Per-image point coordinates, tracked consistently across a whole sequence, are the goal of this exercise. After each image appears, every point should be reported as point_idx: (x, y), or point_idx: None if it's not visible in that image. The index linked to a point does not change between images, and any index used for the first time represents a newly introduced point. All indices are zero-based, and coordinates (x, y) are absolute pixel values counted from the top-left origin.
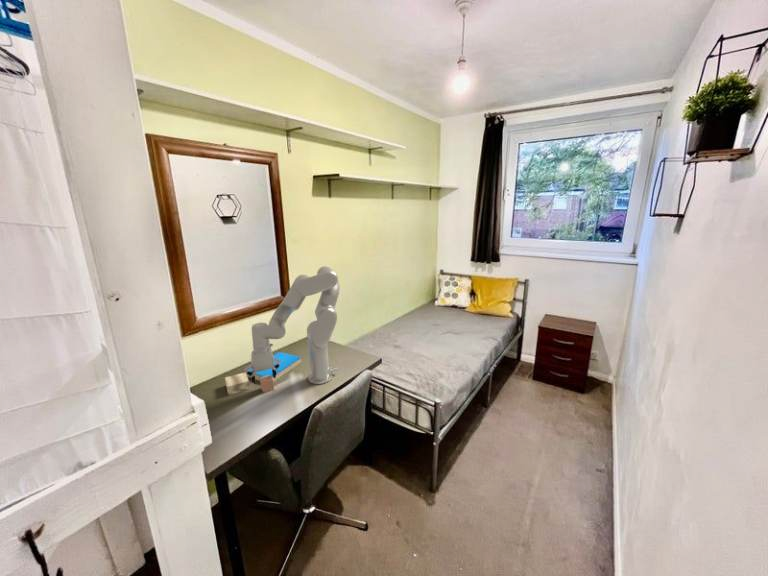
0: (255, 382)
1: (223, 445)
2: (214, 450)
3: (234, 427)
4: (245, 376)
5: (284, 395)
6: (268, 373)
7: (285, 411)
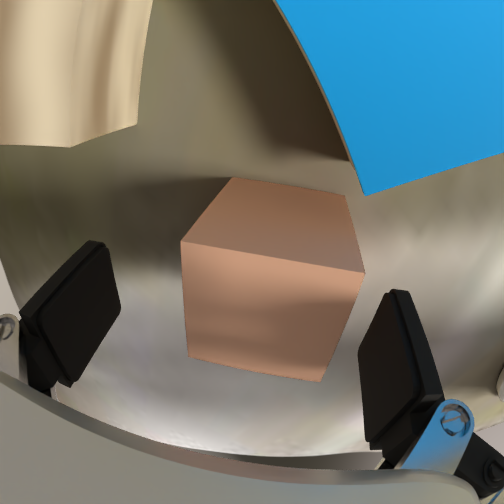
0: (114, 321)
1: (71, 397)
2: (57, 391)
3: (80, 376)
4: (66, 2)
5: (330, 382)
6: (411, 53)
7: (262, 440)
